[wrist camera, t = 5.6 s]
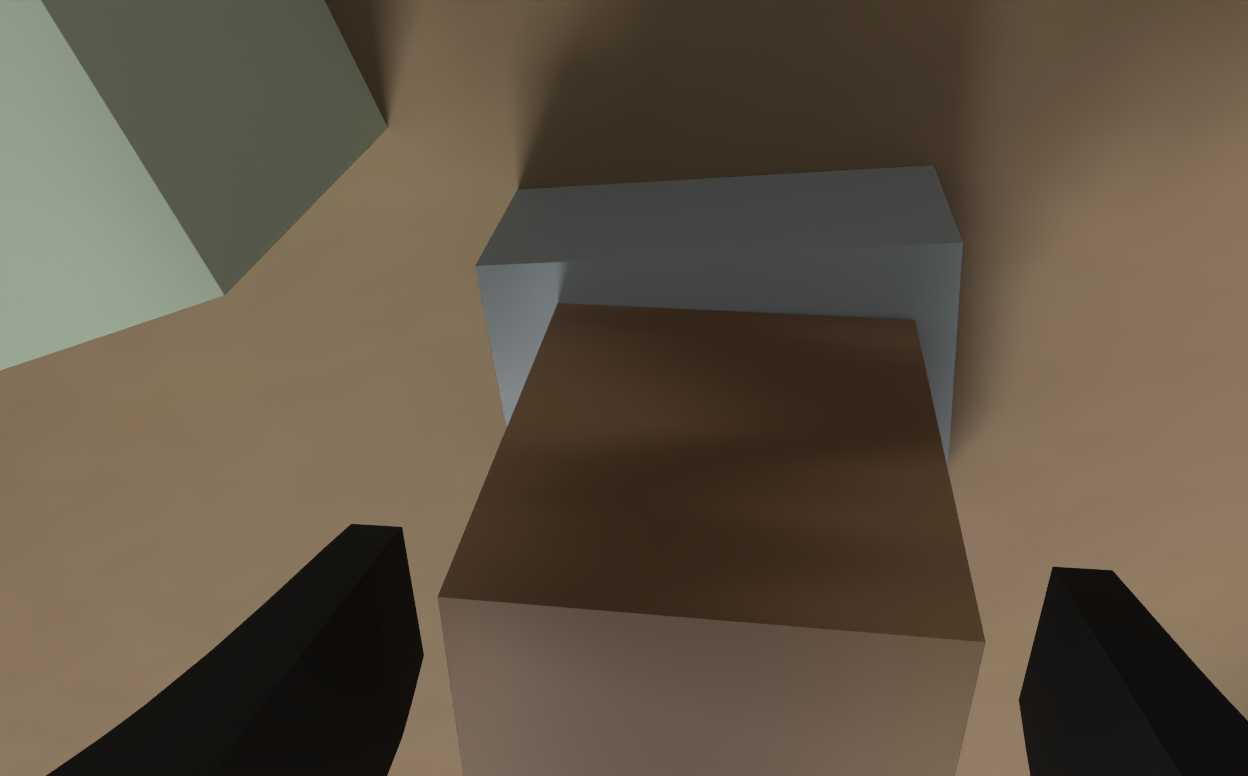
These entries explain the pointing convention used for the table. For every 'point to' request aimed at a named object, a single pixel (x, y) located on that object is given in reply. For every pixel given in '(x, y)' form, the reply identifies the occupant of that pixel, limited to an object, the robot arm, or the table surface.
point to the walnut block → (715, 557)
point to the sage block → (159, 153)
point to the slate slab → (730, 258)
